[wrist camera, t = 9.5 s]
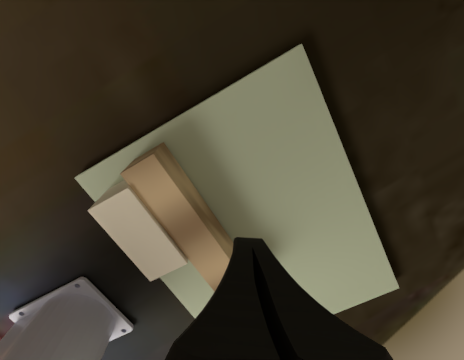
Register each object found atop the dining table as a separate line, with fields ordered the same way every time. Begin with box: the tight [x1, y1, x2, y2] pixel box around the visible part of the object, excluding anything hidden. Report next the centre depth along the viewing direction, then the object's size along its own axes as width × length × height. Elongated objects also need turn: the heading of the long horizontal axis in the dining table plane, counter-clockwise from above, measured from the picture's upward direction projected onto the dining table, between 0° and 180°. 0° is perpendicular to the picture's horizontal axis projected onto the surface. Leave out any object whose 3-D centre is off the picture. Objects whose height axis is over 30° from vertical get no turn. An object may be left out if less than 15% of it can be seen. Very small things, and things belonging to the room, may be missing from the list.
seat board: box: [75, 44, 399, 318], centre depth 23 cm, size 19×24×1 cm
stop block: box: [87, 180, 188, 282], centre depth 20 cm, size 3×7×4 cm, turn 29°
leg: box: [120, 142, 233, 292], centre depth 20 cm, size 15×4×3 cm, turn 30°
